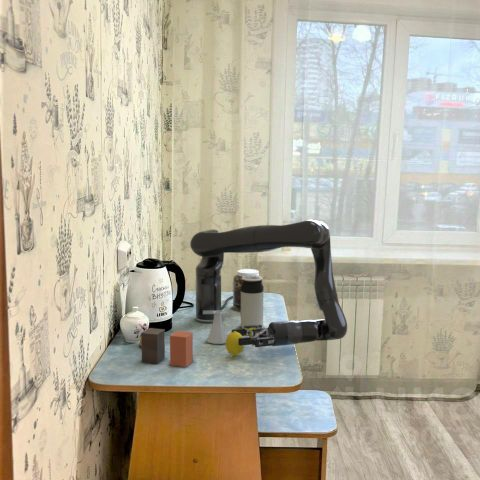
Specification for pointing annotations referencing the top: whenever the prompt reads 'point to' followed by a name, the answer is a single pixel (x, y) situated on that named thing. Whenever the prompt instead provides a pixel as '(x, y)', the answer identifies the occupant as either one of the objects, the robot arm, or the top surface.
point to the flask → (217, 330)
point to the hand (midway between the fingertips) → (235, 337)
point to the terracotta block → (181, 348)
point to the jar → (237, 286)
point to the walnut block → (153, 345)
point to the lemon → (234, 343)
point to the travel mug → (252, 300)
